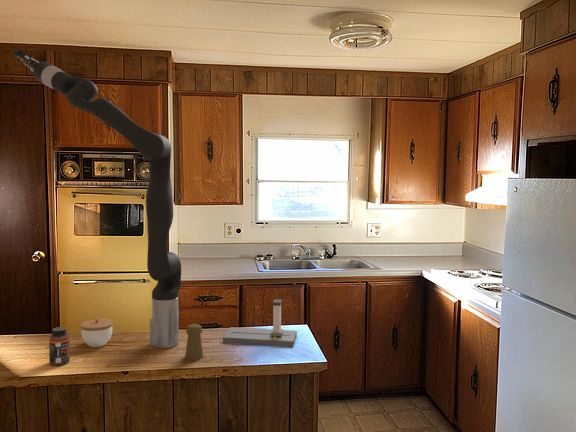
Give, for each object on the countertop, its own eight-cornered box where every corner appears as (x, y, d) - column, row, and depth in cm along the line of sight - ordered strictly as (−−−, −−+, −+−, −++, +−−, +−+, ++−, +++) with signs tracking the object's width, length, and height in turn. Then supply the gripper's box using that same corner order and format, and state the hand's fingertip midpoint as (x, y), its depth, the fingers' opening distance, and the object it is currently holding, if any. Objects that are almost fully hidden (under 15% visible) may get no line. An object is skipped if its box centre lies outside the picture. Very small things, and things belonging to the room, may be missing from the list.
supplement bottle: (62, 367, 152) (62, 332, 151) (45, 365, 152) (44, 331, 151) (73, 360, 157) (72, 326, 157) (56, 358, 158) (56, 325, 157)
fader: (270, 335, 177) (271, 302, 176) (272, 331, 182) (273, 298, 181) (281, 336, 177) (281, 302, 176) (283, 332, 182) (283, 299, 181)
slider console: (222, 342, 176) (222, 336, 176) (230, 332, 188) (230, 326, 188) (293, 346, 173) (293, 340, 173) (296, 335, 185) (296, 330, 185)
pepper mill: (199, 361, 158) (199, 328, 157) (182, 359, 160) (182, 327, 159) (206, 354, 164) (206, 323, 163) (189, 352, 165) (189, 321, 165)
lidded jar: (114, 338, 179) (113, 313, 178) (111, 348, 169) (111, 322, 168) (83, 340, 176) (82, 315, 175) (78, 350, 166) (78, 324, 165)
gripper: (31, 71, 165) (1, 54, 170) (56, 95, 178) (28, 79, 183) (45, 55, 166) (15, 39, 171) (69, 80, 179) (41, 64, 185)
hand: (22, 59), depth 177 cm, fingers open, 8 cm apart
